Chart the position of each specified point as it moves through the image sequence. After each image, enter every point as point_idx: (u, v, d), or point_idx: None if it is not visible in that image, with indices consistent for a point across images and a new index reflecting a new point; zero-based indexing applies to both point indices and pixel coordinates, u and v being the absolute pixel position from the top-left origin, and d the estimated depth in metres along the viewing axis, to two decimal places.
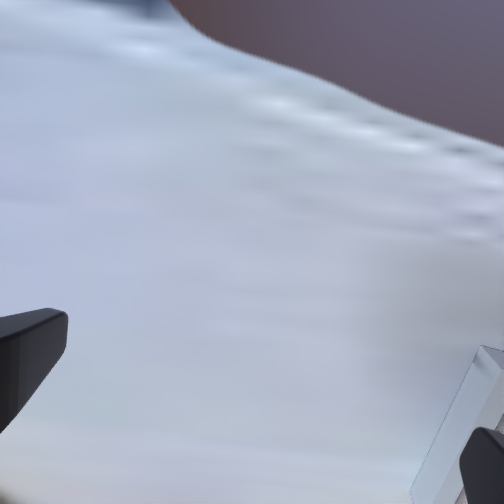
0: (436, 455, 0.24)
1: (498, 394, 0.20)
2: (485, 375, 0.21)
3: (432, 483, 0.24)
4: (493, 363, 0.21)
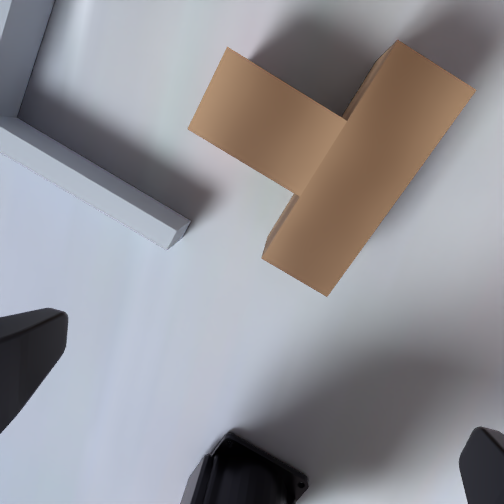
0: None
1: None
2: None
3: None
4: None
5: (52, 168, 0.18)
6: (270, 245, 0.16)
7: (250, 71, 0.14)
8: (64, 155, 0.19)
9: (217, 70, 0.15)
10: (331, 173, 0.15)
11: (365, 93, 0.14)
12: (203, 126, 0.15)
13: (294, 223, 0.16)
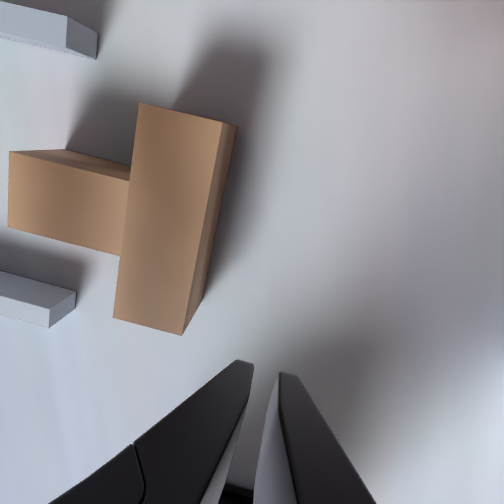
0: None
1: None
2: None
3: None
4: None
5: None
6: (115, 304, 0.18)
7: (35, 165, 0.16)
8: None
9: (9, 172, 0.16)
10: (137, 228, 0.16)
11: (134, 153, 0.15)
12: (18, 221, 0.17)
13: (125, 280, 0.17)
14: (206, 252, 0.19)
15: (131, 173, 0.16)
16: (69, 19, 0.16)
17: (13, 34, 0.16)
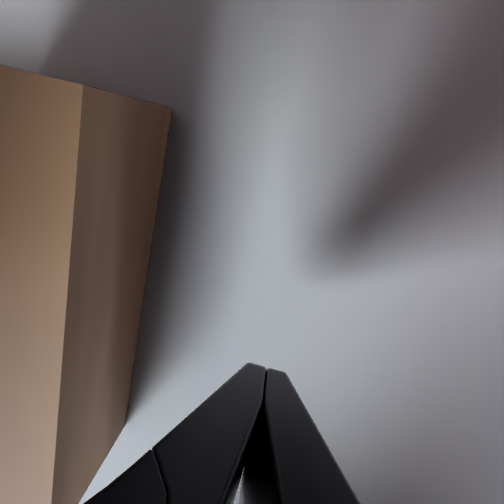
0: None
1: None
2: None
3: None
4: None
5: None
6: None
7: None
8: None
9: None
10: None
11: None
12: None
13: None
14: (112, 363, 0.09)
15: None
16: None
17: None
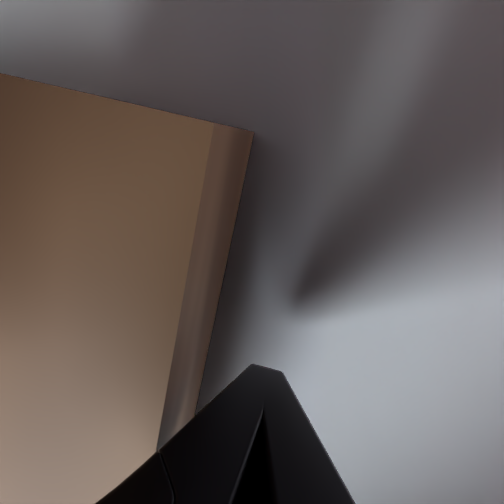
0: None
1: None
2: None
3: None
4: None
5: None
6: None
7: None
8: None
9: None
10: None
11: None
12: None
13: None
14: (184, 420, 0.08)
15: None
16: None
17: None
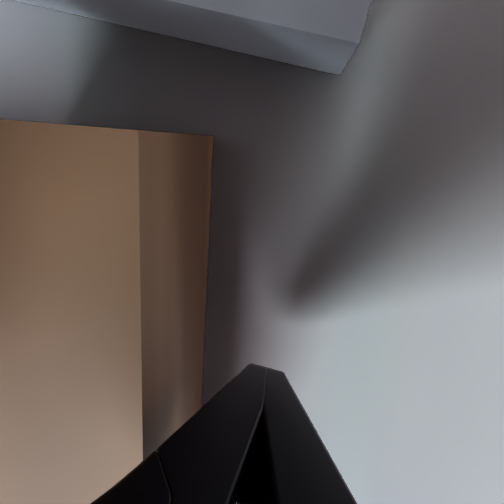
0: None
1: None
2: None
3: None
4: None
5: None
6: None
7: None
8: None
9: None
10: None
11: None
12: None
13: None
14: None
15: None
16: None
17: (188, 3, 0.05)
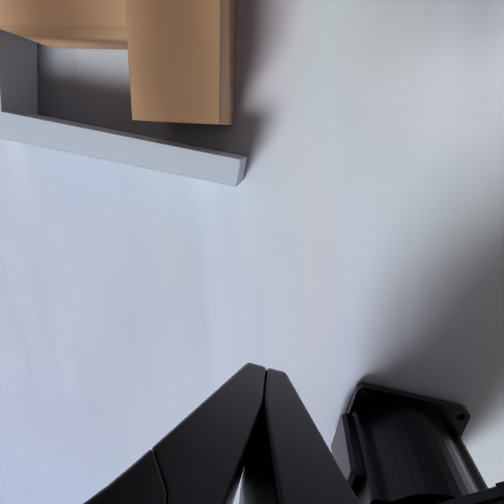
0: None
1: (8, 130, 0.17)
2: None
3: None
4: None
5: (90, 141, 0.17)
6: (132, 100, 0.14)
7: None
8: (97, 128, 0.17)
9: None
10: None
11: None
12: None
13: (139, 60, 0.14)
14: (229, 32, 0.15)
15: None
16: None
17: None
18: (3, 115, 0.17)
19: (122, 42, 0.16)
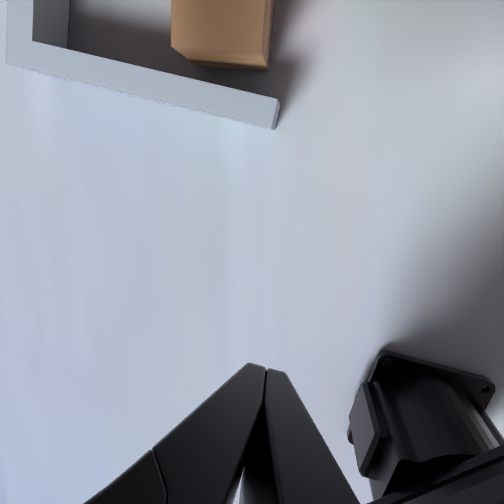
0: (186, 108, 0.18)
1: (38, 60, 0.16)
2: (42, 73, 0.17)
3: (211, 114, 0.17)
4: None
5: (122, 75, 0.16)
6: (172, 25, 0.14)
7: None
8: None
9: None
10: None
11: None
12: None
13: None
14: None
15: None
16: None
17: None
18: (34, 45, 0.16)
19: None
